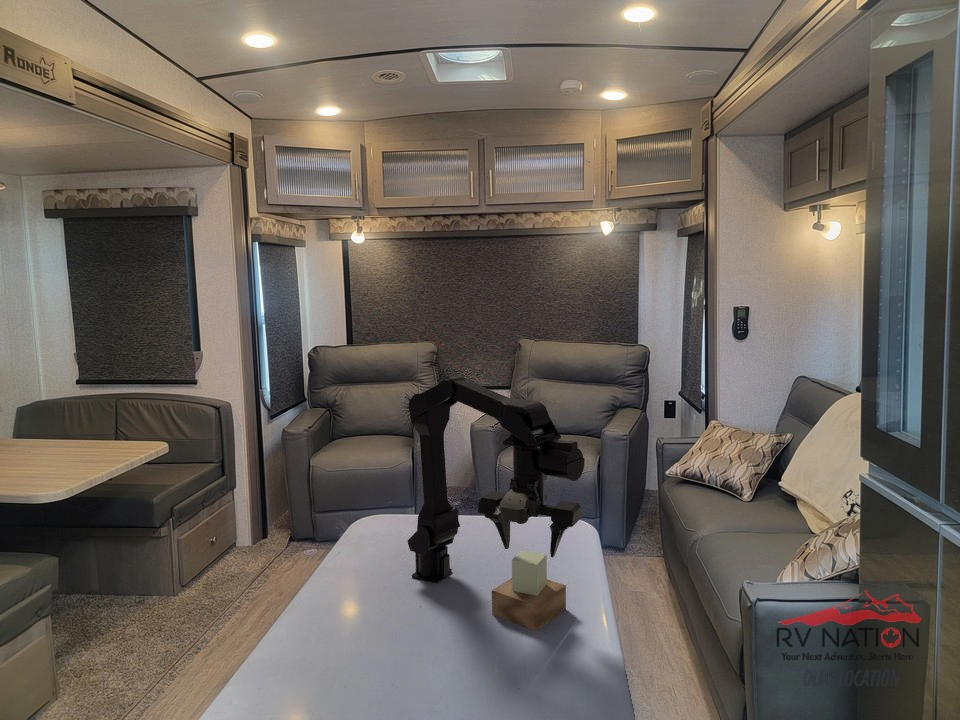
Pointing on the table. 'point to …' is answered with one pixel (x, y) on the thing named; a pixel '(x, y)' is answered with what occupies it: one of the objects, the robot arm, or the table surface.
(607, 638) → the table surface
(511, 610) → the walnut block
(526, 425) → the robot arm
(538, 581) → the sage block
